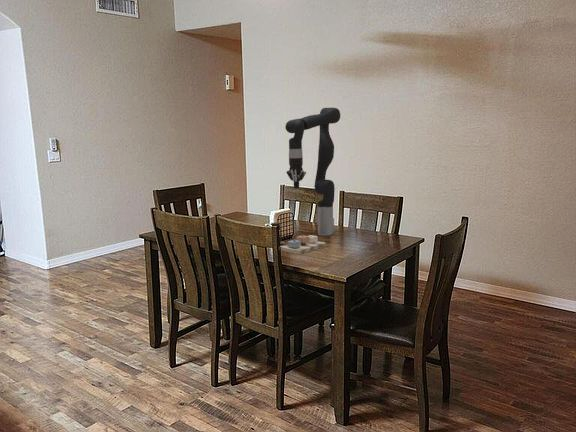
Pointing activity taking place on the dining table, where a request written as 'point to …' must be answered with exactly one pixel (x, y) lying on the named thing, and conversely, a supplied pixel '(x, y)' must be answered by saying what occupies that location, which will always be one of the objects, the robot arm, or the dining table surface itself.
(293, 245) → the grey block
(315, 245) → the board
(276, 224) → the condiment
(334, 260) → the dining table surface
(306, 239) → the tile
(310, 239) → the light grey square block
